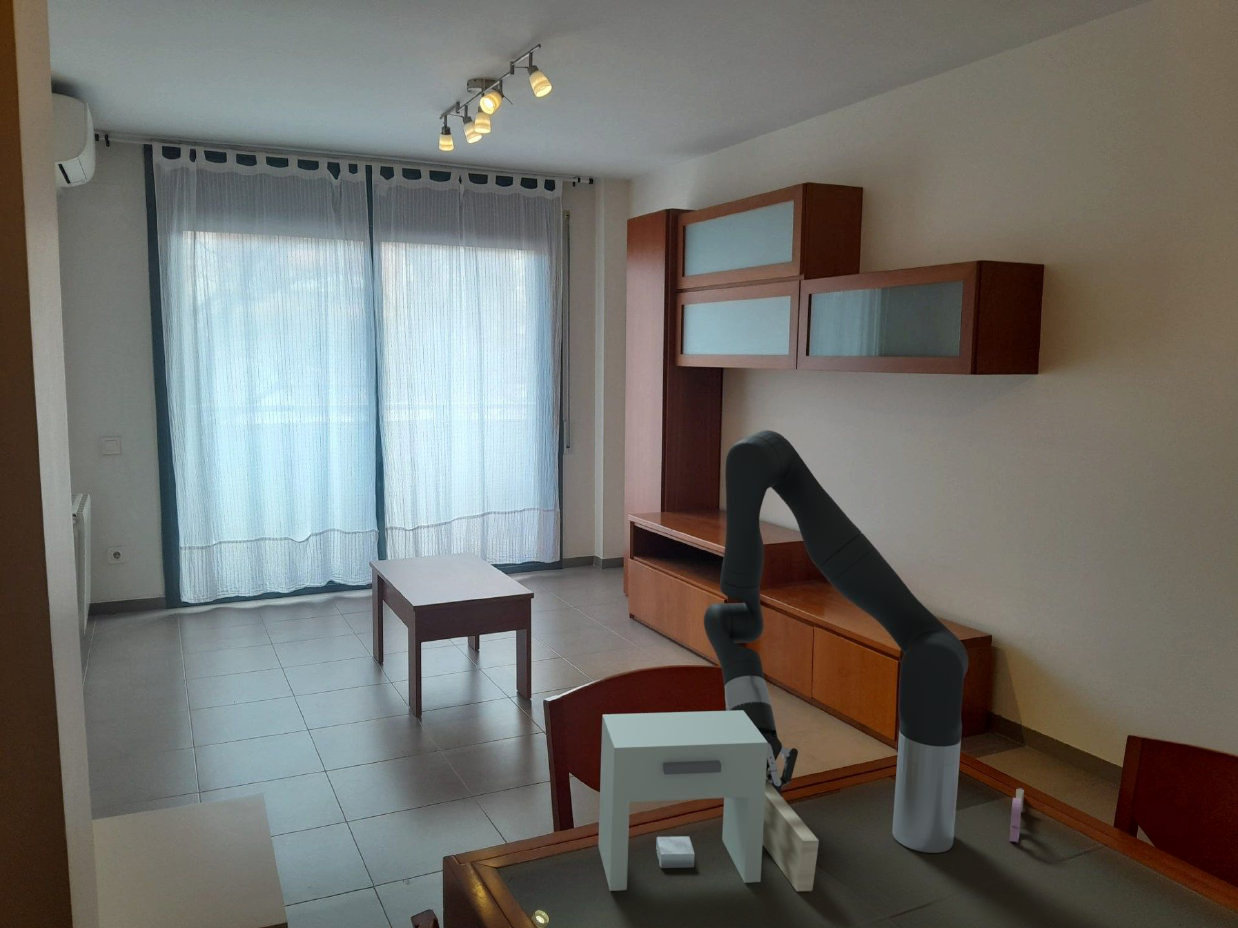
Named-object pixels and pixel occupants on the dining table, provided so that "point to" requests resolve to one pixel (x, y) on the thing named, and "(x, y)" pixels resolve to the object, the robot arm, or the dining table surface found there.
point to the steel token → (675, 852)
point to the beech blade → (789, 841)
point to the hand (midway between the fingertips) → (768, 812)
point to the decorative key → (1016, 815)
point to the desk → (683, 779)
